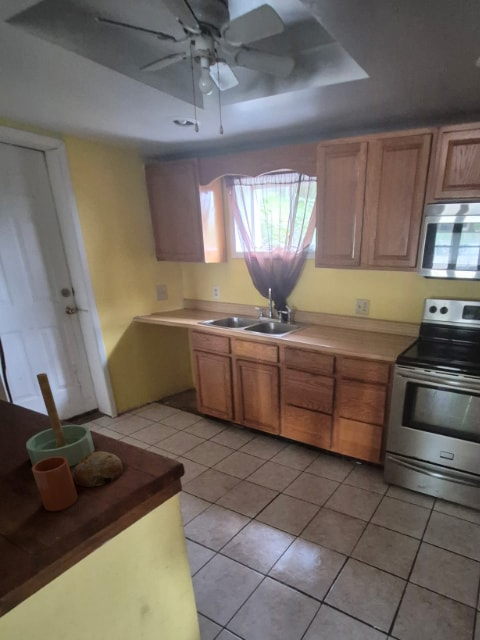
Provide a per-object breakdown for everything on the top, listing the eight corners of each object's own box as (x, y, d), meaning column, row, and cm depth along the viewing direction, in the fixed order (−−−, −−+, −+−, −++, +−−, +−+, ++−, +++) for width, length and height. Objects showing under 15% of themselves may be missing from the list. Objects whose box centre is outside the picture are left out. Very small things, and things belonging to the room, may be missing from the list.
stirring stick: (56, 457, 94) (32, 375, 86) (62, 453, 96) (39, 372, 87) (67, 458, 94) (43, 376, 85) (72, 454, 96) (50, 373, 87)
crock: (38, 512, 76) (23, 471, 72) (60, 493, 81) (48, 454, 77) (64, 515, 75) (51, 474, 71) (84, 496, 80) (74, 457, 77)
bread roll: (85, 505, 83) (83, 484, 78) (66, 472, 87) (63, 451, 82) (128, 485, 90) (130, 465, 85) (109, 456, 94) (109, 435, 89)
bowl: (19, 469, 90) (11, 448, 88) (61, 442, 102) (55, 423, 100) (69, 475, 88) (63, 453, 86) (105, 446, 100) (101, 426, 98)
